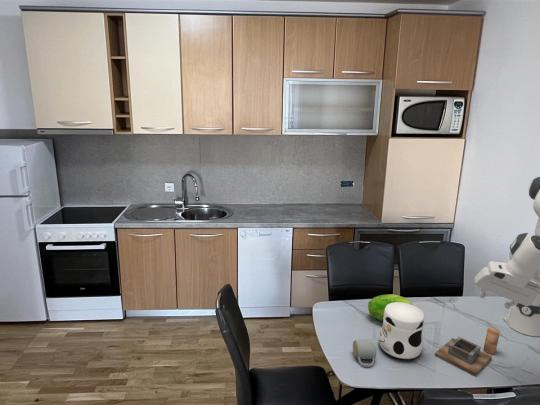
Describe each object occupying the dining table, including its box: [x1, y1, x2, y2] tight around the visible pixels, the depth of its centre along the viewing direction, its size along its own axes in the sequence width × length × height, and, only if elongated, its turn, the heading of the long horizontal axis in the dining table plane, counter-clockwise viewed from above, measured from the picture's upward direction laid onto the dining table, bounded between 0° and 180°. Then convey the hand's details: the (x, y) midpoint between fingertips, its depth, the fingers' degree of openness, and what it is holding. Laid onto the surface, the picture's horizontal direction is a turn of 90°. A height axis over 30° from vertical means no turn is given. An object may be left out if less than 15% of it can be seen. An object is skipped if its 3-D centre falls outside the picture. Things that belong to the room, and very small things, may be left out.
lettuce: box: [367, 293, 413, 322], centre depth 185 cm, size 13×23×12 cm, turn 103°
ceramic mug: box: [352, 338, 377, 368], centre depth 156 cm, size 11×8×8 cm
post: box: [482, 327, 501, 356], centre depth 163 cm, size 4×4×10 cm
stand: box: [434, 336, 493, 377], centre depth 159 cm, size 16×16×6 cm
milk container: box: [378, 302, 425, 360], centre depth 161 cm, size 17×17×18 cm
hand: (493, 301), depth 147 cm, fingers open, 8 cm apart
